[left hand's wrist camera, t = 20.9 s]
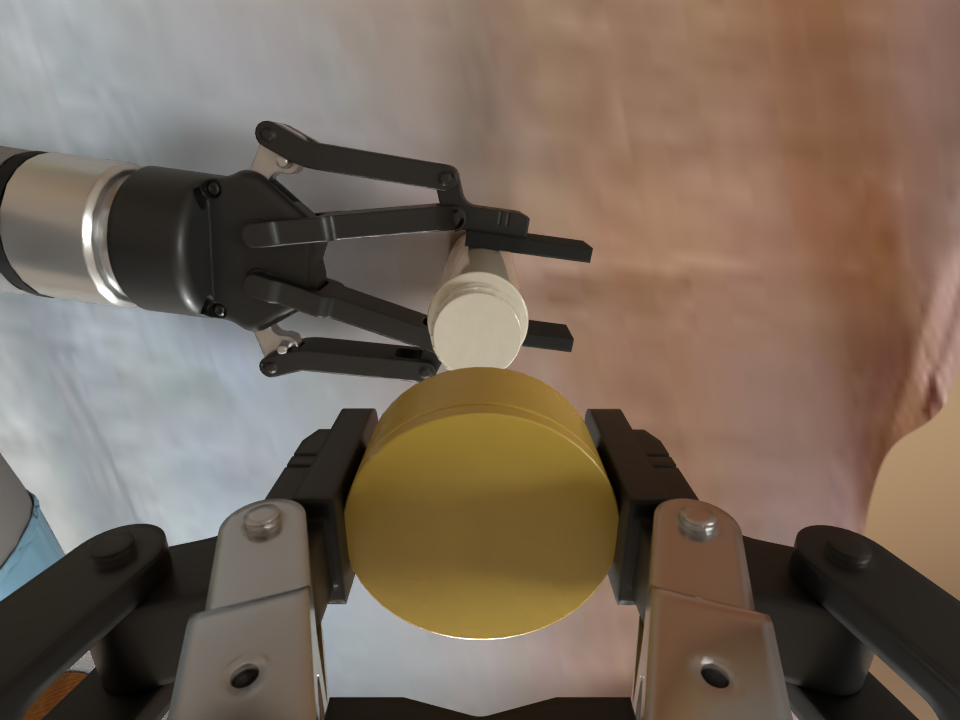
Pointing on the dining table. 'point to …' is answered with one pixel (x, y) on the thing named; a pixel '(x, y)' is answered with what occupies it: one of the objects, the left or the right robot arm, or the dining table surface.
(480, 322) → the white bottle
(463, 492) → the lid
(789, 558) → the left robot arm
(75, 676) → the disposable coffee cup
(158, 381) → the dining table surface
